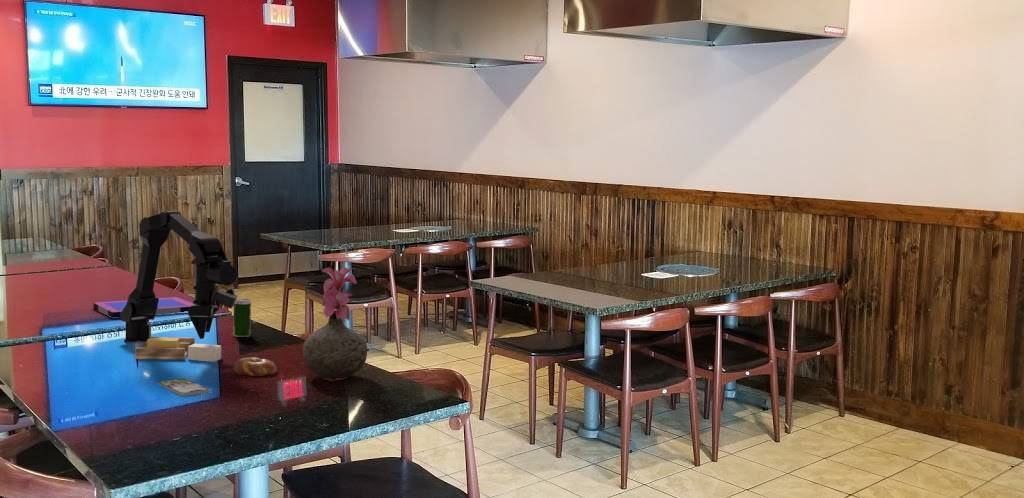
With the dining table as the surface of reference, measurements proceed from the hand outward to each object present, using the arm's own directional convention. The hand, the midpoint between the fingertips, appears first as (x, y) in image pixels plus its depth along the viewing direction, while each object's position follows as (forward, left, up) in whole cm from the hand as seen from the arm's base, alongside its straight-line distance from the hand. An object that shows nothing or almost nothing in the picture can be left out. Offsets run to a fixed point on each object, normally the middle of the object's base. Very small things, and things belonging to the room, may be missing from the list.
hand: (204, 335), depth 251 cm
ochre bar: (-12, +3, -6) cm, 14 cm away
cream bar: (0, 0, -7) cm, 7 cm away
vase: (+37, -20, -7) cm, 43 cm away
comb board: (-12, +7, -7) cm, 15 cm away
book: (-33, +74, -8) cm, 81 cm away
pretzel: (+16, -14, -7) cm, 22 cm away
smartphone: (0, -31, -8) cm, 32 cm away
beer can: (+6, +32, -7) cm, 33 cm away
